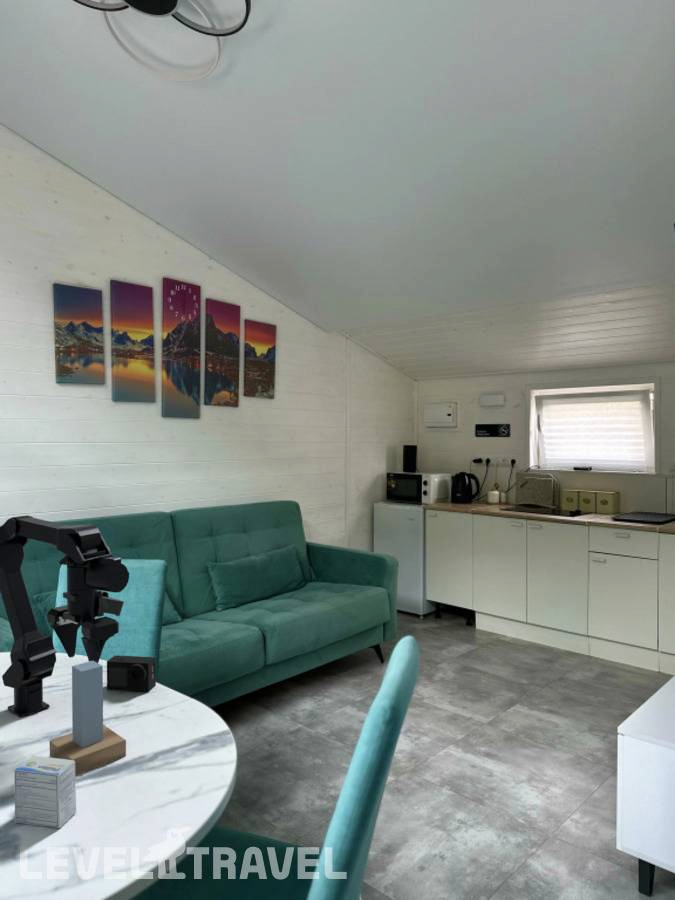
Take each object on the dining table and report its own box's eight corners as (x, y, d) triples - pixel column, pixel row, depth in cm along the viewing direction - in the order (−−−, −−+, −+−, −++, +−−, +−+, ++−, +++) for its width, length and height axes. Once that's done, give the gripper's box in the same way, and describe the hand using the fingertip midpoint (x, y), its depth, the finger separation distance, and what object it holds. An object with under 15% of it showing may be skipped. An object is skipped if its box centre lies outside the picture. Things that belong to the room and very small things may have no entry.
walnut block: (49, 756, 118) (49, 740, 118) (101, 737, 126) (101, 723, 126) (72, 776, 112) (72, 759, 111) (125, 755, 119) (125, 740, 119)
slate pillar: (72, 740, 118) (71, 666, 118) (93, 733, 121) (92, 660, 121) (82, 747, 116) (81, 671, 115) (103, 740, 119) (102, 665, 118)
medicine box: (77, 813, 101) (76, 759, 101) (59, 830, 97) (59, 774, 96) (33, 807, 102) (32, 754, 102) (13, 824, 98) (13, 768, 98)
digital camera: (103, 692, 148) (103, 662, 148) (114, 683, 153) (114, 654, 153) (146, 695, 147) (146, 664, 146) (155, 685, 152) (155, 656, 152)
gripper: (142, 586, 131) (142, 661, 131) (95, 573, 143) (95, 642, 143) (91, 597, 122) (91, 677, 123) (45, 582, 134) (46, 655, 135)
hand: (82, 662), depth 131 cm, fingers open, 9 cm apart
